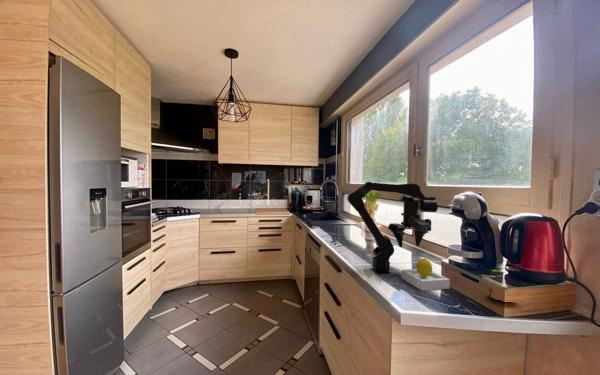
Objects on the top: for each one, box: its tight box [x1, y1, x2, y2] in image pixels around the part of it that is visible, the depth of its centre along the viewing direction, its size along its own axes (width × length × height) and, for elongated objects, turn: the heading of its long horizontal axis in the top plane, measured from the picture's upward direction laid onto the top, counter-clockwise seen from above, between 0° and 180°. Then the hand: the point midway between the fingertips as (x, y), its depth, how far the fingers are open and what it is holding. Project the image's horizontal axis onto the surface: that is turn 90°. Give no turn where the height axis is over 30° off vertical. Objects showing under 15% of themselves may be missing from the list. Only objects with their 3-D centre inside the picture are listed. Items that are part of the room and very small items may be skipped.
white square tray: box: [401, 268, 451, 291], centre depth 93 cm, size 12×12×4 cm
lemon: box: [416, 257, 433, 278], centre depth 93 cm, size 6×6×8 cm
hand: (409, 246), depth 104 cm, fingers open, 9 cm apart
